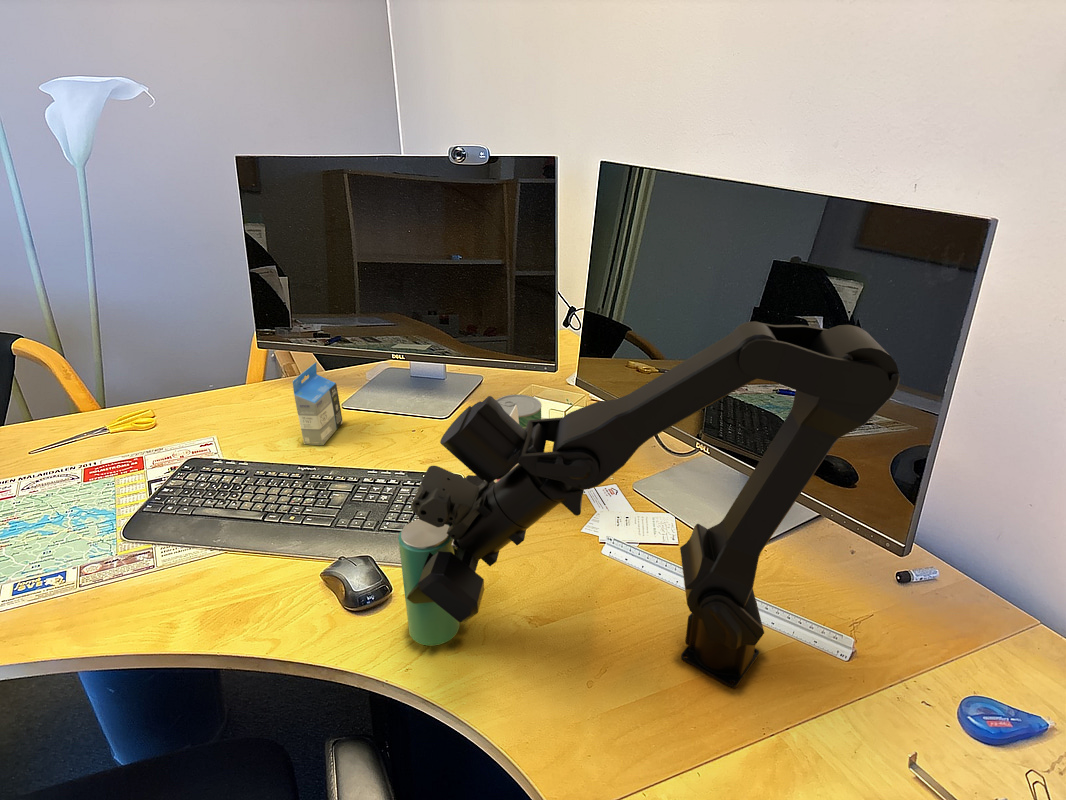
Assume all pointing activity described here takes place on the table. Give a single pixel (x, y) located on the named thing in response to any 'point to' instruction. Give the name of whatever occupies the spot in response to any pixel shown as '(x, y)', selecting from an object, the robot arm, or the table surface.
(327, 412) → the label tape box
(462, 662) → the table surface
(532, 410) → the canned tomato
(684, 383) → the robot arm
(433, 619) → the can
